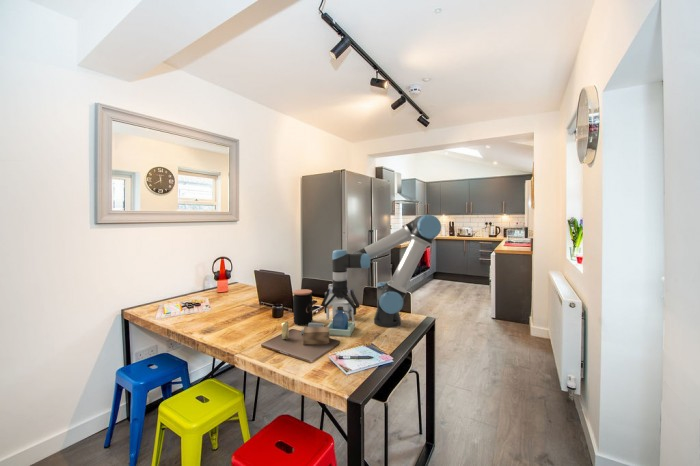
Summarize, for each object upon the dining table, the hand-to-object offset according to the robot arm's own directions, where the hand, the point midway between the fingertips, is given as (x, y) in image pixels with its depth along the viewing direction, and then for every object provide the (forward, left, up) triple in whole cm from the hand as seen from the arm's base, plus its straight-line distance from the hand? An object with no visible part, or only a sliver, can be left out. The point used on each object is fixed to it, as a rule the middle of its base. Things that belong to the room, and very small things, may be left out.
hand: (340, 320), depth 153 cm
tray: (0, 0, -6) cm, 6 cm away
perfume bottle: (0, 0, -5) cm, 5 cm away
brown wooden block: (+8, +15, -6) cm, 18 cm away
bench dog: (+24, +15, -6) cm, 29 cm away
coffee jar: (+24, -9, -6) cm, 26 cm away
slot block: (+14, +3, -6) cm, 16 cm away
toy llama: (+5, -22, -6) cm, 23 cm away
